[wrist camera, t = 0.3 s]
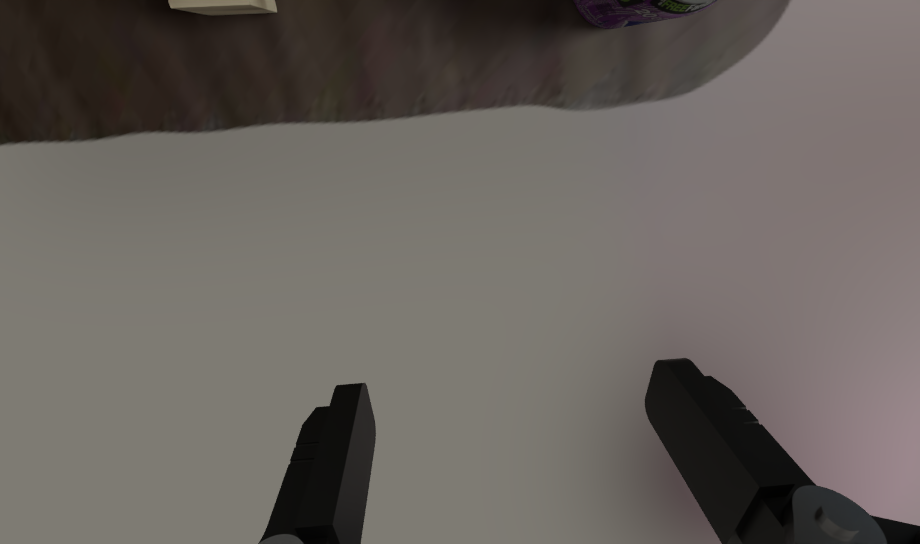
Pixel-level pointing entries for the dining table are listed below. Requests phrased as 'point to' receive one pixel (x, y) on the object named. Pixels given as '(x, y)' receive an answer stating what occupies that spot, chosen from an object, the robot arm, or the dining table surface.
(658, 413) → the robot arm
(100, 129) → the dining table surface
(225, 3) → the beech cube
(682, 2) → the beverage can
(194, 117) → the dining table surface
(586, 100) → the dining table surface
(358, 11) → the dining table surface
